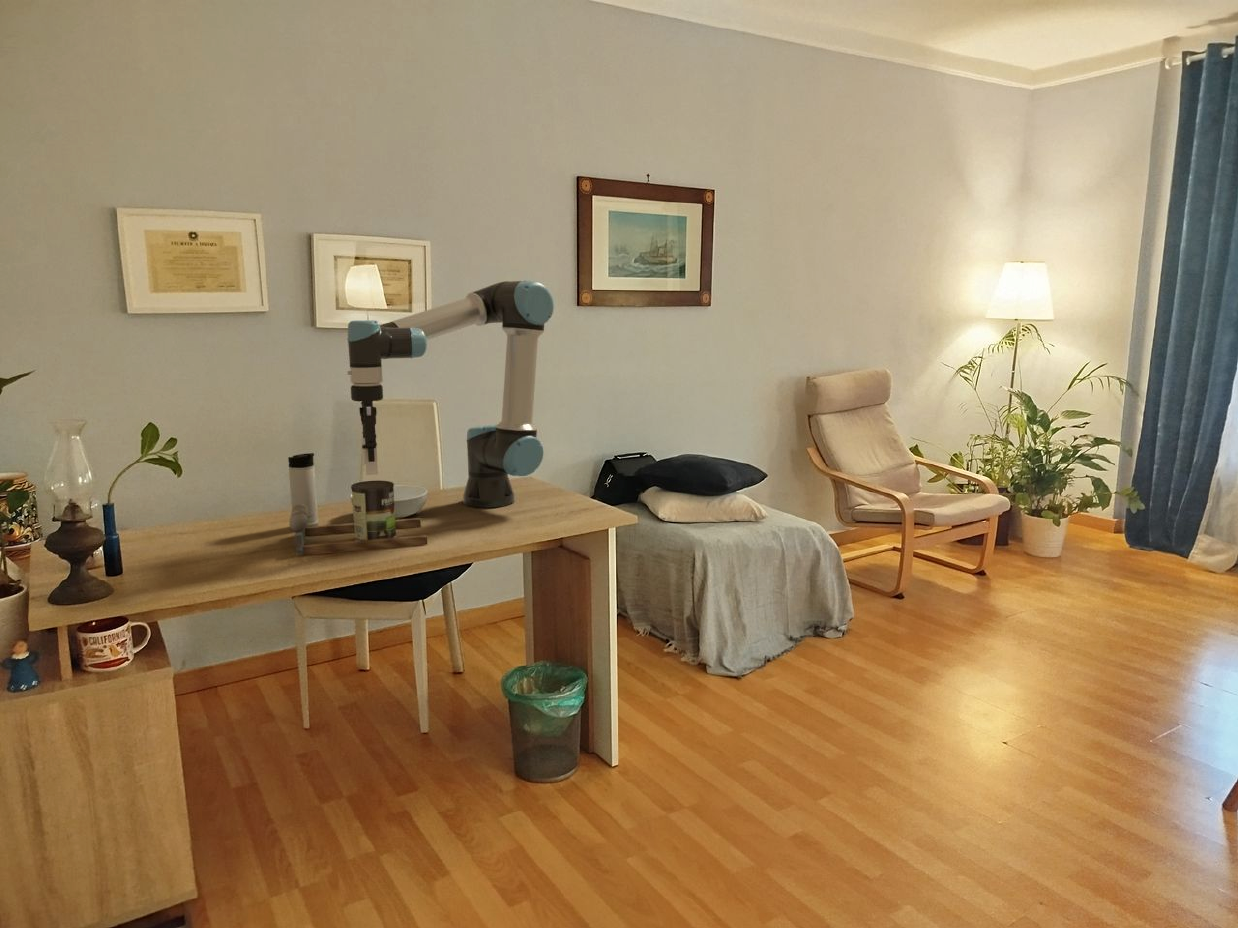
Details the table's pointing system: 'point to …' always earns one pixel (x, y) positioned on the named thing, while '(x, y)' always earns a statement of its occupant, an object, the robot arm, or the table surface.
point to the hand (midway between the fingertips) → (370, 469)
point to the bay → (300, 522)
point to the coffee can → (373, 510)
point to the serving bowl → (407, 500)
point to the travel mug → (304, 485)
